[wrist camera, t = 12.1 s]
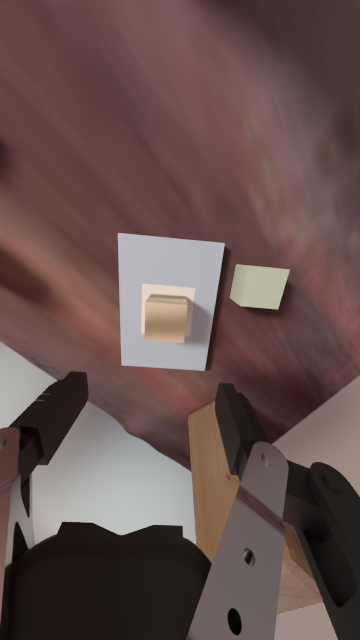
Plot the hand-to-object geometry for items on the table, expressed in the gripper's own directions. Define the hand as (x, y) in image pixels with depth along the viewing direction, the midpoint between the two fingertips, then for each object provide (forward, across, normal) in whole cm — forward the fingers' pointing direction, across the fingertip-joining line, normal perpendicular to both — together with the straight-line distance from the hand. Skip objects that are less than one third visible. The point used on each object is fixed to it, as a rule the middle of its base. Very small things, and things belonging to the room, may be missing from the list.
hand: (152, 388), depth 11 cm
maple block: (+16, 0, 0) cm, 16 cm away
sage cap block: (+18, -12, -5) cm, 22 cm away
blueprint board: (+18, 0, 0) cm, 18 cm away
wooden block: (+18, -12, +22) cm, 31 cm away
